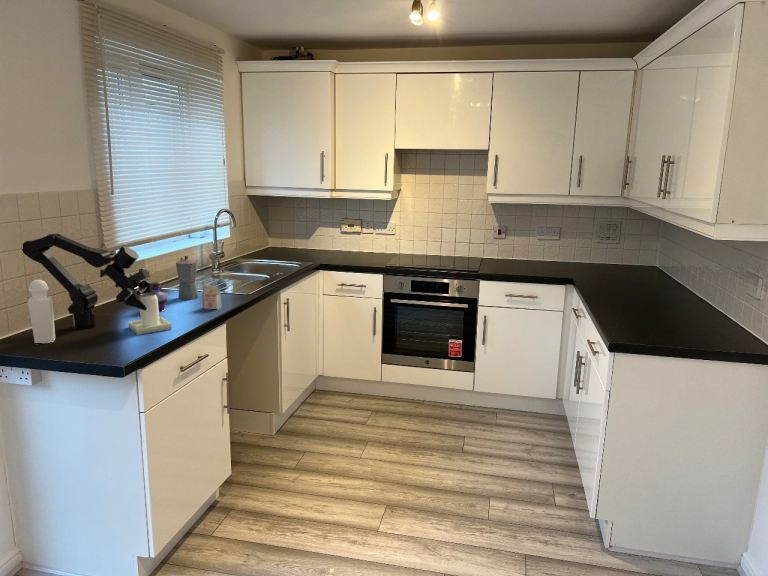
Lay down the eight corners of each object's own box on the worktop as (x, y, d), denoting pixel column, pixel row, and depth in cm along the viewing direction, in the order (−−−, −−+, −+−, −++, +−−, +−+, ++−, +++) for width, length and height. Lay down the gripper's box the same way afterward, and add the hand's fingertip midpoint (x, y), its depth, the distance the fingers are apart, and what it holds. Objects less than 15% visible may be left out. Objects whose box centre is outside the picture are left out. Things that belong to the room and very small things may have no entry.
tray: (136, 335, 206) (136, 329, 206) (128, 327, 216) (128, 321, 216) (171, 329, 214) (171, 323, 213) (162, 322, 223) (162, 316, 223)
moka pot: (184, 302, 255) (181, 258, 251) (171, 296, 267) (168, 254, 262) (204, 299, 261) (202, 256, 257) (191, 293, 273) (188, 252, 268)
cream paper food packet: (207, 306, 248) (206, 284, 246) (221, 307, 246) (220, 285, 244) (203, 308, 244) (201, 286, 242) (217, 309, 243) (215, 287, 240)
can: (148, 322, 219) (145, 292, 217) (163, 323, 218) (160, 292, 215) (137, 326, 213) (134, 295, 211) (153, 327, 212) (150, 296, 209)
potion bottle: (173, 308, 245) (171, 281, 242) (161, 313, 236) (158, 285, 234) (155, 307, 247) (153, 280, 244) (142, 312, 238) (140, 284, 236)
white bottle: (33, 344, 195) (24, 282, 190) (36, 339, 200) (28, 278, 196) (54, 342, 197) (47, 280, 192) (57, 337, 203) (49, 277, 198)
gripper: (121, 266, 201) (154, 297, 202) (145, 258, 219) (176, 286, 221) (101, 288, 203) (134, 318, 204) (127, 277, 221) (157, 305, 223)
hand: (151, 306), depth 213 cm, fingers open, 9 cm apart
